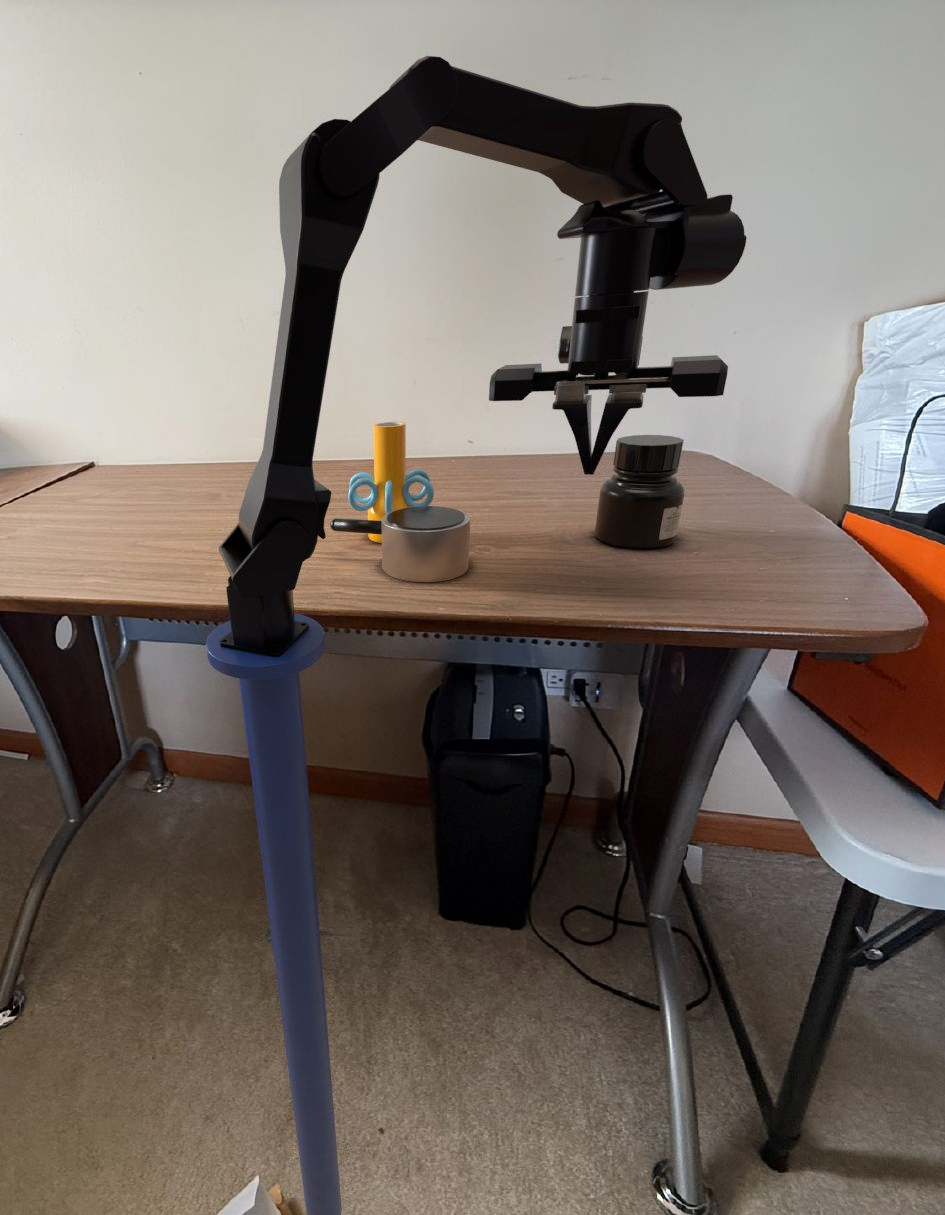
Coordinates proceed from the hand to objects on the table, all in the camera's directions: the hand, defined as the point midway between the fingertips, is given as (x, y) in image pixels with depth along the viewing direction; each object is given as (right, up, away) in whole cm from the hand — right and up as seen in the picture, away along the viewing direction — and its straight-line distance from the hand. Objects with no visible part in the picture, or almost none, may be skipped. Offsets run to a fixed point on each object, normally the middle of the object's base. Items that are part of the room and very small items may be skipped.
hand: (589, 473), depth 60 cm
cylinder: (-15, -4, +25) cm, 29 cm away
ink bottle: (+14, -5, +17) cm, 22 cm away
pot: (-16, -8, +15) cm, 23 cm away
